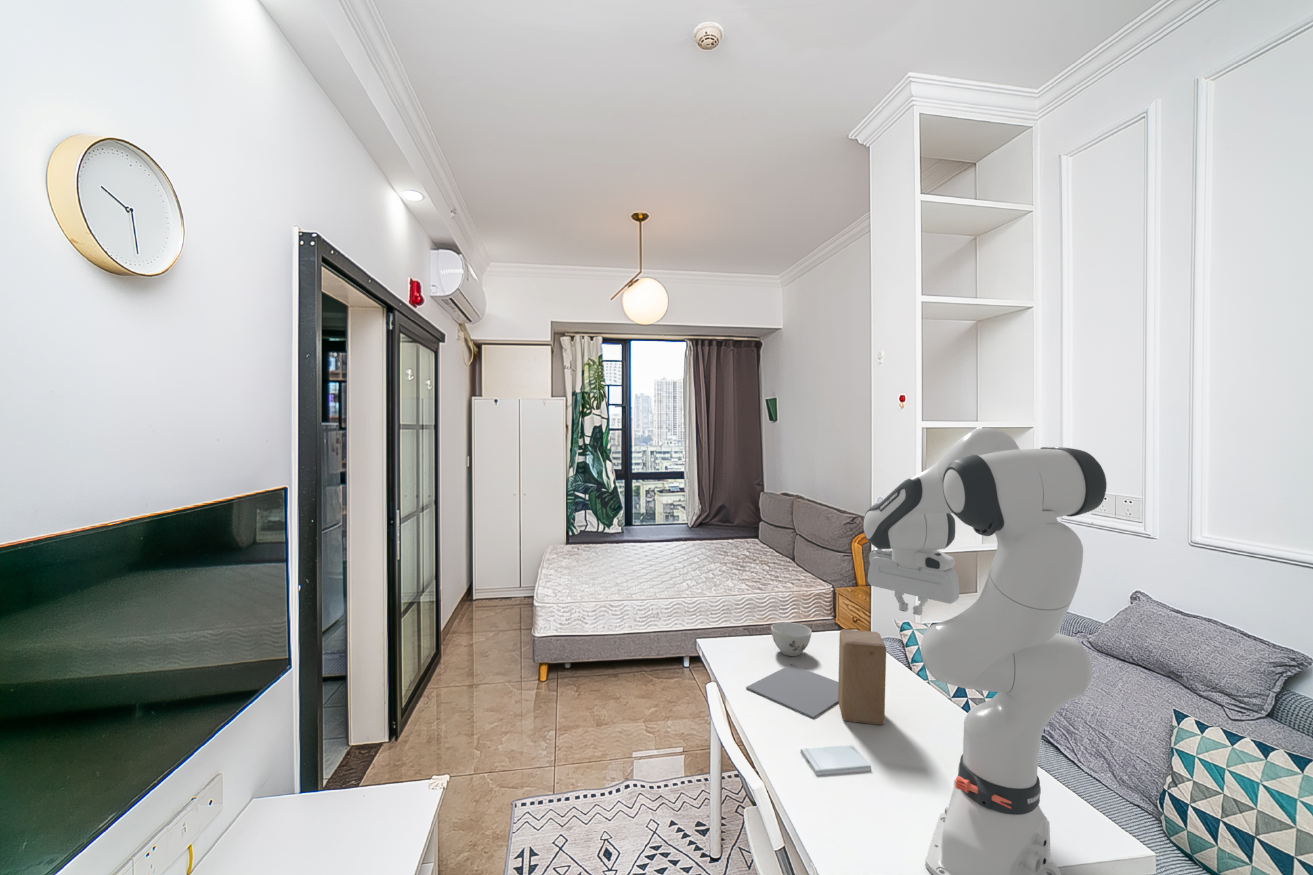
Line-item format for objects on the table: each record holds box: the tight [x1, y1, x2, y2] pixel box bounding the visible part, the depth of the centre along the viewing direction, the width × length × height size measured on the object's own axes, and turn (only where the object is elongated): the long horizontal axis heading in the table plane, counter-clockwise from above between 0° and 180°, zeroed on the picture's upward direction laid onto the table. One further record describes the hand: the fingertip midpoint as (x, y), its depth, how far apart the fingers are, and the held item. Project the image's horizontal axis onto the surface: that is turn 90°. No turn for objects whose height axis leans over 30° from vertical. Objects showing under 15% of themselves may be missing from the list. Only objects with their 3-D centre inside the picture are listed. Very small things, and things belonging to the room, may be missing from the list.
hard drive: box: [799, 744, 872, 776], centre depth 123 cm, size 2×8×12 cm
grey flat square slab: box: [745, 663, 839, 719], centre depth 156 cm, size 22×21×1 cm
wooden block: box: [838, 628, 887, 726], centre depth 143 cm, size 10×10×20 cm
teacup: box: [770, 621, 812, 657], centre depth 181 cm, size 15×12×8 cm
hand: (910, 612), depth 133 cm, fingers closed
